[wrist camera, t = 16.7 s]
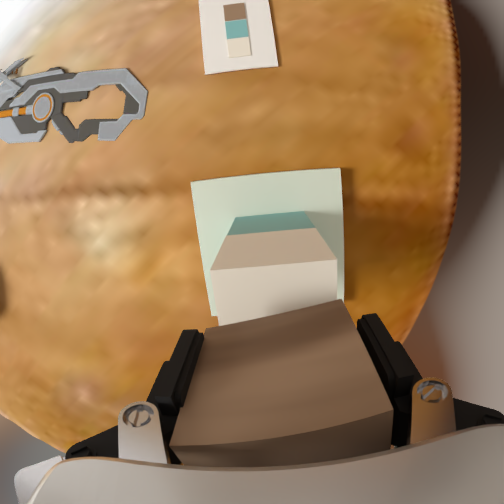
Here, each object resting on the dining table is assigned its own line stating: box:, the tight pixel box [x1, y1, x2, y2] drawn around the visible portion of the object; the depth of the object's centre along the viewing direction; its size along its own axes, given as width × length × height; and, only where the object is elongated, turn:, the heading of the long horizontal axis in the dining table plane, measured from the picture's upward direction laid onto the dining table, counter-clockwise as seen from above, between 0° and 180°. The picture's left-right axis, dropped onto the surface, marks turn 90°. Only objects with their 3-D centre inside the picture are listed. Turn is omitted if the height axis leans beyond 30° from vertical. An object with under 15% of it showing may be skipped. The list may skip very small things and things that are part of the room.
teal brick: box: [227, 211, 315, 235], centre depth 22 cm, size 6×6×6 cm
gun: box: [0, 58, 148, 143], centre depth 22 cm, size 39×2×10 cm
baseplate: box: [191, 168, 344, 316], centre depth 26 cm, size 12×12×1 cm
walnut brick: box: [169, 299, 394, 467], centre depth 10 cm, size 6×6×6 cm
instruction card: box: [199, 0, 278, 75], centre depth 21 cm, size 8×6×1 cm
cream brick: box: [210, 228, 337, 326], centre depth 17 cm, size 6×6×6 cm
